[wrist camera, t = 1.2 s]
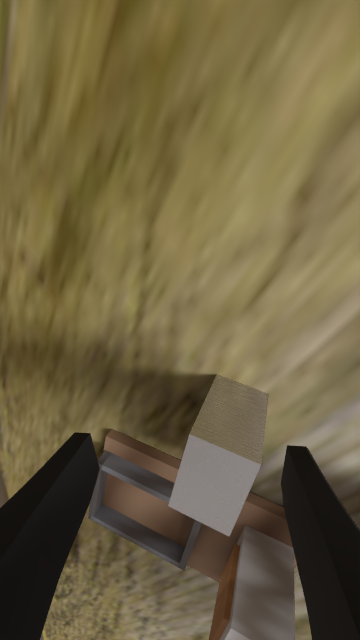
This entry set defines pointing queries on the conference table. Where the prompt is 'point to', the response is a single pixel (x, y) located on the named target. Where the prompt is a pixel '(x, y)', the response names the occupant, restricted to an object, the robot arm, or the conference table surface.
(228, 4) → the conference table surface
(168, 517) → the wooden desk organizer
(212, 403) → the grey rectangular block
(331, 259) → the conference table surface
